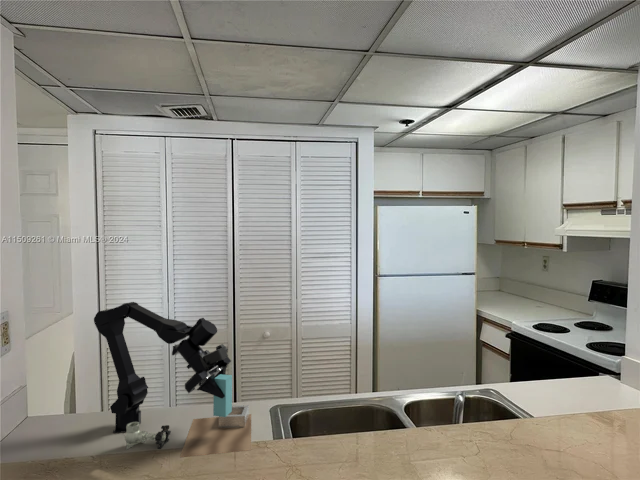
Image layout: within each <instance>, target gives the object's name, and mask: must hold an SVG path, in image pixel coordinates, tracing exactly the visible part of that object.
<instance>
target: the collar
mask: <svg viewBox="0 0 640 480" xmlns="http://www.w3.org/2000/svg"><path fill="white" fill-rule="evenodd" d="M249 414H250V405H249V404H246V405H245V404H244V405H243V404H242V405H237V404H236V405H232V412H231V413H229V414H228V415H227V416H226V417H220V416H218V417H219V428H236V427H245V425H246V422H247V419H248V417H249Z"/></svg>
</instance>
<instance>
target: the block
mask: <svg viewBox="0 0 640 480" xmlns="http://www.w3.org/2000/svg"><path fill="white" fill-rule="evenodd" d="M215 382H216V383H217V385H218V386H219V388H220V389H221V390H222V392H223V394H224V395H225V397H224V398H219V397H217V396H214V395H213V405H212V406H213V417H219V416H220V417H226V416H227V415H228V414H229V413H231V412H232V406H233V375H232V374H226V375H223V374H220V375H218V376H217V377H215Z"/></svg>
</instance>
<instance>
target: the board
mask: <svg viewBox="0 0 640 480" xmlns="http://www.w3.org/2000/svg"><path fill="white" fill-rule="evenodd" d="M246 451H252V413H249V417H248V419H247V422H246V425H245V427H236V428H219V416H213V417H212V416H211V417H203V418H193V420H192V422H191V425H190V428H189V431H188V433H187V436H186V439H185V442H184V445H183V447H182V450H181V452H180V456H179V458H187V457H198V456H206V455H207V456H208V455H216V454H225V453H226V454H227V453H228V454H229V453H235V452H246Z"/></svg>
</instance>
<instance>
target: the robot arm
mask: <svg viewBox="0 0 640 480" xmlns="http://www.w3.org/2000/svg"><path fill="white" fill-rule="evenodd" d="M127 318H130V319H132V320H133V321H135V322H137V323H139V324H141V325H143V326H145V327H147V328H149V329H150V330H153V331H154V332H155V333H156V334H157V337H158V338H159V339H160V340H162V341H163V342H164V343H166V344H170V345H172V344H174V345H173V346H172V352H171V356H175V355H177V354H180V356H181V357H182V358H183V360H185V362H186V363H187V365H186V368H187V369H188V370H189V369H192V370H193V371H194V374H193V375H192V376H191V377H190V378H189V379H188V380H187V381H186V382H185V383H184V390H186V392H187V393H188V394H190V393H192V392H193V391H194V390H196V391H201V392H204V393H207V394H210V395H212V396H213V397H214V396H217V397H219V398H224V397H225V395H224V394H223V392H222V390H221V389H220V388H219V386H218V385H217V383H216V382H215V377H217V376H218V375H220V374H223V375H227V373H226V372H227V368H228V365H230V363H231V362H232V360H231V359H230V358H229V357H228V356H229V355H228V351H229V347H226V345H224V344H223V343H222V344H219V345H217V346H216V347H215V350H214V351H209V350H208V349H206V350H204V349H203V348H202V347H203V346H206V345H207V344H208V343H209V341H211V340H212V339H213V337H214V336H215V335H216V334H217V333H218V328H217V326H216V324H214V323H213V322H211V321H209V320H206V319H205V318H204V317H201V318H199V319H198V320H197V321H196V323H195V324H194V325H193V326H192V325H187V324H186V323H185V322H184V321H179V320H177V319H172V318H171V319H169V318H165V317H163V316H162V315H159V314H158V313H155V312H153V311H152V310H149V309H148V308H145V307H143V306H142V305H140V304H139V303H138V302H136V301H135V302H134V301H130V302H126V303H122V304H121V305H119V306H116V307H113V308H110V309H104V310H99V311H98V312H96V314H95V316H94V318H93V322H94V323H93V324H94V325H95V328H96V330H97V331H98V333H99V334H101V336H103V337H104V338H105V339H106V342H107V346H108V349H109V352H110V355H111V358H112V361H113V365H114V368H115V371H116V375H117V378H118V385H117V390H116V395H117V399H116V400H115V401H114V402H113V403H112V404H111V405H110V406H109V407H110V408H109V409H110V411H111V413H112V414H114V415H115V428H114V430H113V434H115V433H117V434H118V433H126V427H127V424H129V423H132V422H139V426H140V425H141V424H142V410H140V406H141V405H143V403H144V401H145V399H146V398H147V395H148V392H149V391H148V389H149V386H148V385H147V382H146V381H147V380H146V378H145V376H141V377H140V376H139V375H138V374H137V373H136V371H135V367H134V365H133V361H132V357H131V355H130V351H129V349H128V345H127V341H126V338H125V336H124V335H125V334H124V329H125V325H126V321H125V319H127ZM178 342H179V343H178ZM175 343H178V344H175ZM197 386H198V388H196V387H197Z"/></svg>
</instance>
